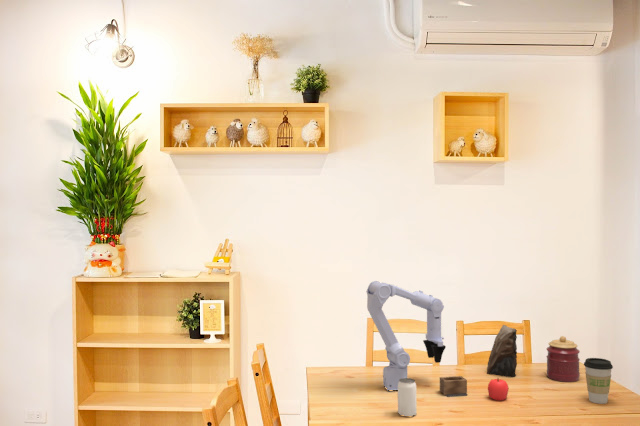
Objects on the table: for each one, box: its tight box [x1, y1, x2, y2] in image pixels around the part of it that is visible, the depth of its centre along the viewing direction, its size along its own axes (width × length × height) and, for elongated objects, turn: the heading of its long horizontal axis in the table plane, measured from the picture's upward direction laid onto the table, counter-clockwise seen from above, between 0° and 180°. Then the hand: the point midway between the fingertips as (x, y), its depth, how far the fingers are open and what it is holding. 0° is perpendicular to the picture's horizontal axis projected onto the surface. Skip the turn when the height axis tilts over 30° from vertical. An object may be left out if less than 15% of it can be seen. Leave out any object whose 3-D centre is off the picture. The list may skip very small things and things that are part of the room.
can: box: [397, 377, 417, 417], centre depth 208 cm, size 6×6×12 cm
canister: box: [546, 335, 581, 383], centre depth 250 cm, size 13×13×18 cm
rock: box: [486, 324, 518, 378], centre depth 257 cm, size 13×13×20 cm
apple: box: [487, 377, 510, 402], centre depth 224 cm, size 8×8×8 cm
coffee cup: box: [583, 357, 614, 405], centre depth 220 cm, size 10×10×15 cm
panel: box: [441, 392, 468, 398], centre depth 231 cm, size 8×8×4 cm
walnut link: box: [439, 375, 468, 395], centre depth 231 cm, size 9×6×5 cm, turn 99°
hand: (434, 359), depth 243 cm, fingers open, 7 cm apart
